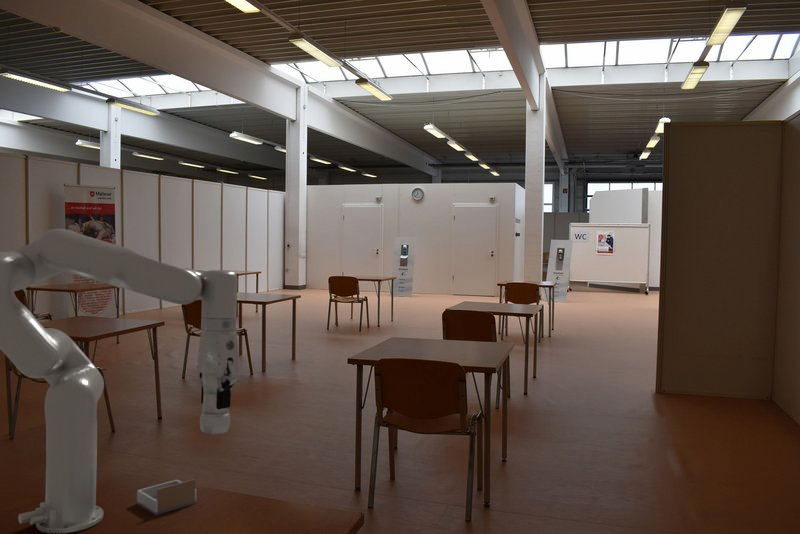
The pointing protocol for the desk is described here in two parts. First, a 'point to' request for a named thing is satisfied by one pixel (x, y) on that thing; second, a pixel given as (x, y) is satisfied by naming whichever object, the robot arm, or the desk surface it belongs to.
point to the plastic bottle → (212, 404)
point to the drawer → (167, 496)
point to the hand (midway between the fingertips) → (215, 404)
